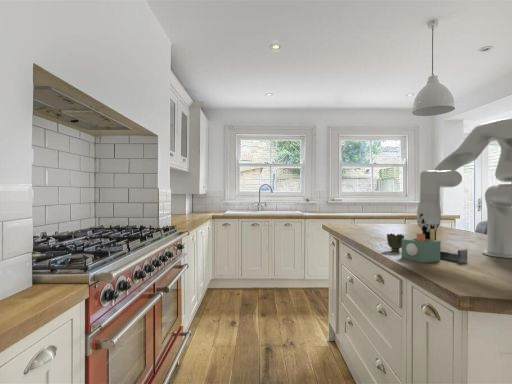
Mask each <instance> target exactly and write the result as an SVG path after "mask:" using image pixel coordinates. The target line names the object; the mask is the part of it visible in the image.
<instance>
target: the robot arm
mask: <svg viewBox="0 0 512 384" xmlns="http://www.w3.org/2000/svg"><path fill="white" fill-rule="evenodd" d="M491 142H497V143H498V145H499V147H500V155H499V158H498V161H497V165H496V168H495V172H494V174H495V175H494V176H495V178H496V180H497V181H499V182H502V183H501V184H500V183H498V184H494V185H491V186H489V187H488V188H487V189H486V190H485V193H484V200H485V204H486V210H487V212H486V213H487V222H486V224H487V225H486V227H487V228H486V229H487V230H486V235H487V236H486V249H485V250H482V254H483V255H485V256H489V257H495V258H504V259H512V117H509V118H502V119H497V120H496V119H495V120H491V121H488V122H484V123H481V124H478V125H476V126H475V127H474V128H473V129H472V130H471V131H470V133H469V134H468V135H467V136H466V137H465V139H464V140H463V141H462V142H461V144H460V145H459V146H458V148H456V149H455V150H454V151H453V152H451V153H450V154H448V156H446V157H445V158H444V159H442V161H440V162H439V163H438V164H437V166H435V168H434V169H433V170H422V171H421V172H420V174H419V175H420V176H419V201H418V206H417V211H416V213H417V214H416V223H417V226H418V227H419V228H420V229H421V231H422V234H425V239H430V232H429V228H432V229H435V240H436V241H437V231H438V228H439V227H440V226H441V222H442V221H441V218H442V212H441V203H440V200H441V197H440V196H441V195H440V194H441V192H440V190H441V188H454V187H457V186H459V185H460V184H461V183H462V182H463V181H462V180H463V176H462V174H461V173H460V172H459V171H457V170H458V169H460V168H461V167H464V166H467V165H469V164H470V163H472V162H474V161H475V160H477V159H478V157H480V155H481V154H482V152H483V151H484V150H485V149H486V148H487V147H488V146H489V145H490V143H491ZM503 183H504V184H503ZM508 183H509V184H508Z"/></svg>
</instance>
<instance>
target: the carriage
mask: <svg viewBox="0 0 512 384" xmlns="http://www.w3.org/2000/svg"><path fill="white" fill-rule="evenodd" d="M429 232H430V240H435V229H432V228H429Z"/></svg>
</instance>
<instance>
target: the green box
mask: <svg viewBox="0 0 512 384" xmlns="http://www.w3.org/2000/svg"><path fill="white" fill-rule="evenodd" d="M440 250H441V240H437V239H436V240H430V239H425V241H419V240H417V237H411V238H408V237H407V238H404V239H402V247H401V259H405V260H409V261H414V262H416V263H417V262H418V263H420V264H421V263H422V264H427V263H433V262H434V263H436V262H441V258H440Z"/></svg>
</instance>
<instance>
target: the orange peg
mask: <svg viewBox="0 0 512 384" xmlns="http://www.w3.org/2000/svg"><path fill="white" fill-rule="evenodd" d="M416 238H417V240H419V241H425V234H423V233H416Z"/></svg>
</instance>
